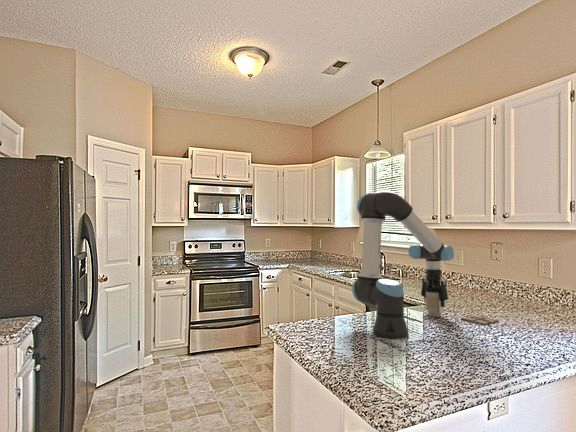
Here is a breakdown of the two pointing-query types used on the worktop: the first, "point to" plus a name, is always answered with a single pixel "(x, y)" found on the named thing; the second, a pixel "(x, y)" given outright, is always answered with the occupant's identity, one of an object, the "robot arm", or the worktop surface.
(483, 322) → the plate
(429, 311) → the coffee cup
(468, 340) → the worktop surface
